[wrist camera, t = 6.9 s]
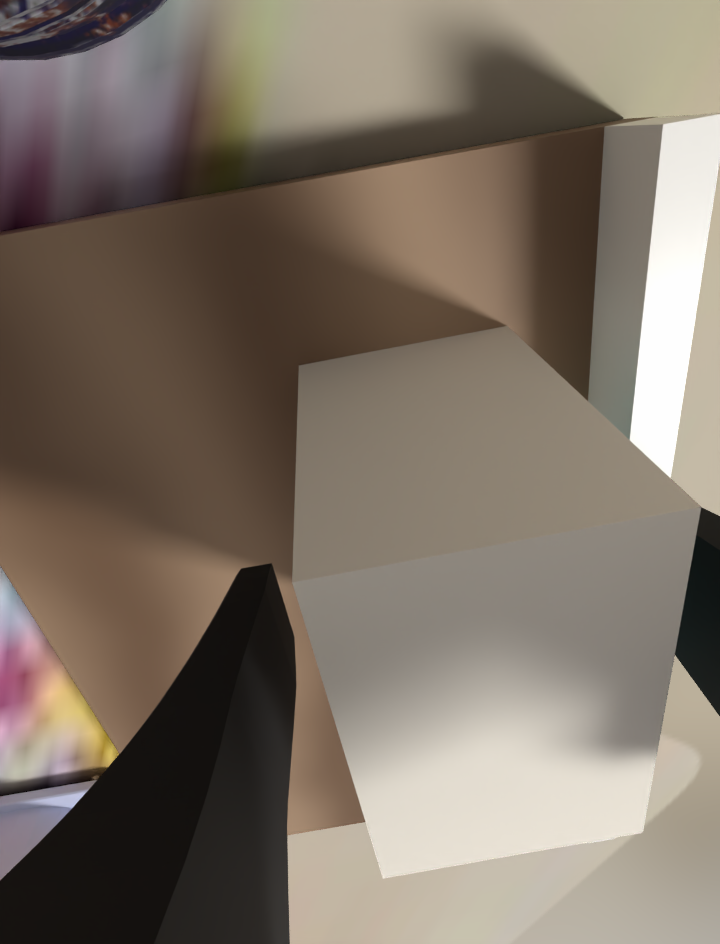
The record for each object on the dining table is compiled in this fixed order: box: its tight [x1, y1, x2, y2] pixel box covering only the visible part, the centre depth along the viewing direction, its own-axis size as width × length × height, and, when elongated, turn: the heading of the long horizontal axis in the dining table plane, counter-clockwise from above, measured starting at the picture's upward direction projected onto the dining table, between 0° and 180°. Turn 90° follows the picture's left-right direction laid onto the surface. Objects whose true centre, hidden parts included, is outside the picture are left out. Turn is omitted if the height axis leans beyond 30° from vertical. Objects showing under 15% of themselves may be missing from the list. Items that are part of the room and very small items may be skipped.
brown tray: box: [0, 113, 720, 843], centre depth 16 cm, size 16×22×3 cm
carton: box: [292, 326, 701, 878], centre depth 11 cm, size 5×7×7 cm
